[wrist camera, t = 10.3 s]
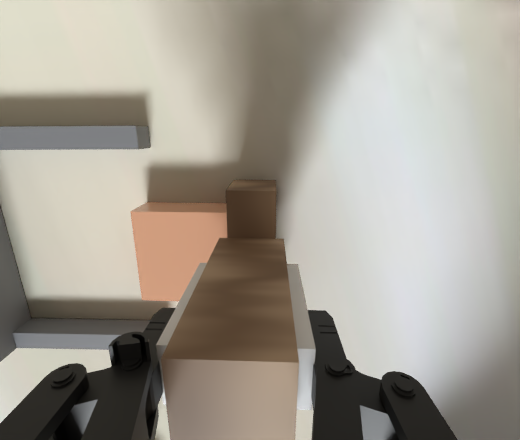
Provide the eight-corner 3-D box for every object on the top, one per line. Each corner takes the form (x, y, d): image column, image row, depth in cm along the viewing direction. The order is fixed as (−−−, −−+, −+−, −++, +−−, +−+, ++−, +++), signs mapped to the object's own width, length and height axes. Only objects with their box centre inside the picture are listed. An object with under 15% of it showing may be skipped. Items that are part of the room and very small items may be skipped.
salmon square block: (236, 202, 22) (231, 212, 20) (237, 282, 24) (233, 302, 22) (148, 201, 23) (130, 211, 20) (157, 280, 25) (142, 300, 22)
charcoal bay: (148, 126, 21) (111, 124, 16) (171, 334, 26) (149, 380, 21) (-42, 127, 21) (-132, 125, 16) (19, 332, 26) (-37, 375, 22)
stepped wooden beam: (282, 180, 21) (303, 267, 7) (279, 300, 24) (290, 521, 10) (227, 179, 21) (149, 264, 7) (230, 299, 24) (179, 516, 10)
